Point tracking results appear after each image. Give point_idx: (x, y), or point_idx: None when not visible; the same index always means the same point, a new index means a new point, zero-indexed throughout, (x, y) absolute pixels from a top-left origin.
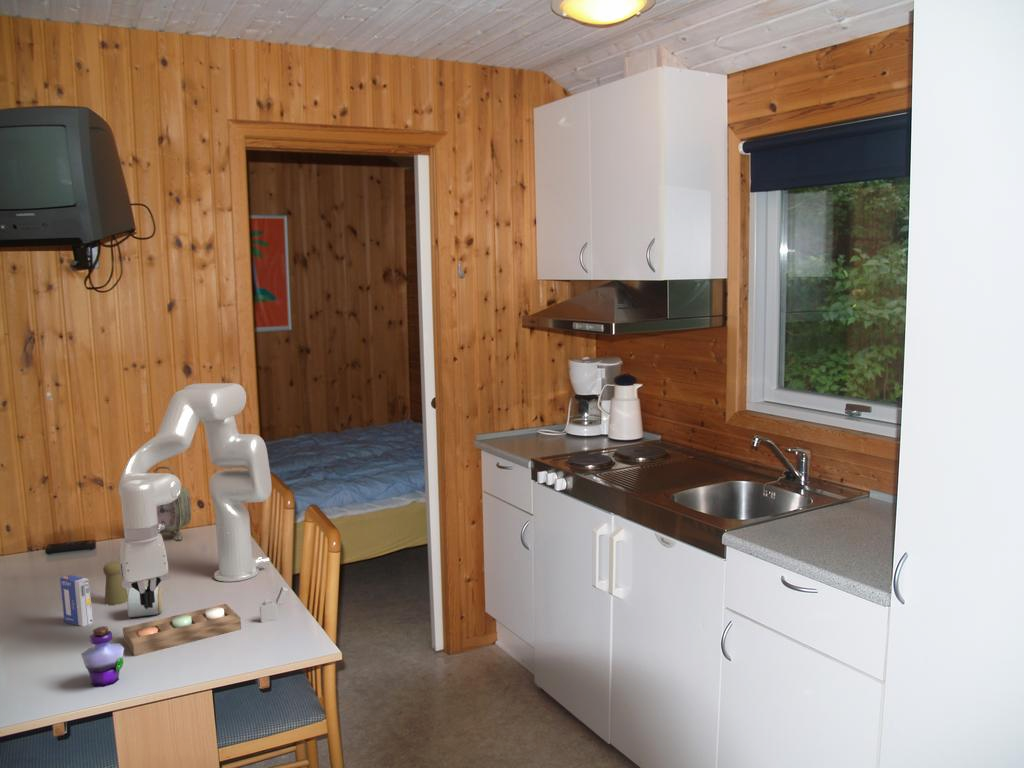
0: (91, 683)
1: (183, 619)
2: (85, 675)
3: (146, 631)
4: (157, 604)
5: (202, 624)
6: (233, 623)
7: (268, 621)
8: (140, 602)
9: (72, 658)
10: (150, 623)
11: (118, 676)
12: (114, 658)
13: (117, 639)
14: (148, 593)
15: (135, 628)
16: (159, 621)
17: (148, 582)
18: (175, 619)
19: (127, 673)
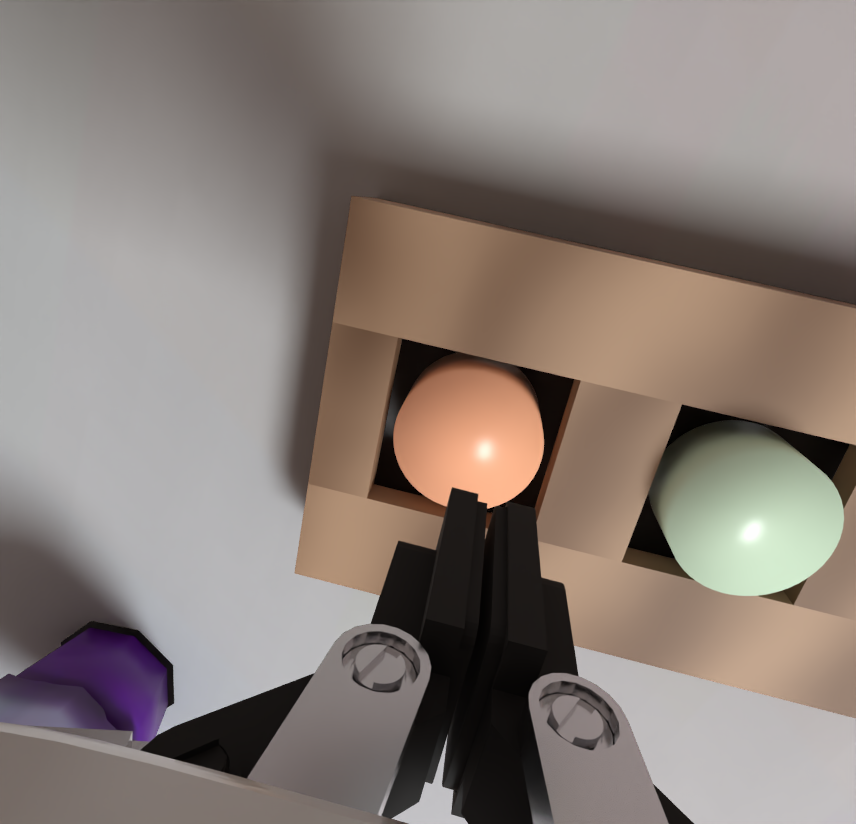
0: (61, 643)
1: (750, 553)
2: (52, 541)
3: (454, 446)
4: None
5: (802, 663)
6: None
7: None
8: (396, 550)
9: (21, 242)
10: (565, 303)
11: (162, 716)
12: None
13: (345, 145)
14: (443, 783)
15: (422, 309)
16: (643, 324)
17: (533, 819)
18: (710, 497)
19: (221, 680)
